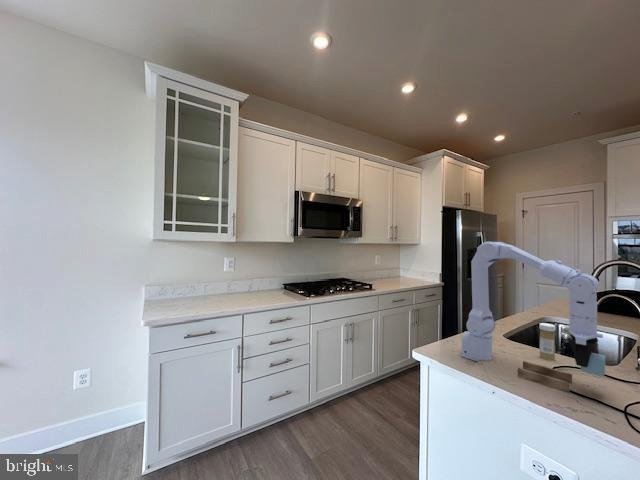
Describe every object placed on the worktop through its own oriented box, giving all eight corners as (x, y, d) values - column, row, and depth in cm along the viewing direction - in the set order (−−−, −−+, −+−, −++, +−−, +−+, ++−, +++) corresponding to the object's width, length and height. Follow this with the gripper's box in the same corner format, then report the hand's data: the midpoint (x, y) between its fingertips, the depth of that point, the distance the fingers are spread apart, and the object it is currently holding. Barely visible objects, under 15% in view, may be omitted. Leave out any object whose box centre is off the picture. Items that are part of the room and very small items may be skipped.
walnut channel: (517, 379, 85) (517, 368, 85) (523, 371, 91) (523, 360, 91) (568, 395, 77) (568, 383, 77) (571, 385, 82) (572, 373, 82)
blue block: (580, 354, 76) (603, 360, 73) (583, 350, 79) (605, 355, 76) (580, 370, 76) (603, 376, 73) (582, 365, 79) (605, 371, 76)
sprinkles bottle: (557, 361, 99) (557, 324, 99) (552, 364, 96) (552, 327, 96) (541, 356, 103) (541, 321, 103) (537, 359, 100) (537, 323, 100)
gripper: (602, 324, 70) (601, 376, 70) (603, 314, 80) (603, 360, 80) (565, 318, 75) (565, 367, 75) (571, 309, 85) (570, 353, 85)
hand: (582, 363), depth 78 cm, fingers closed on blue block, 4 cm apart
